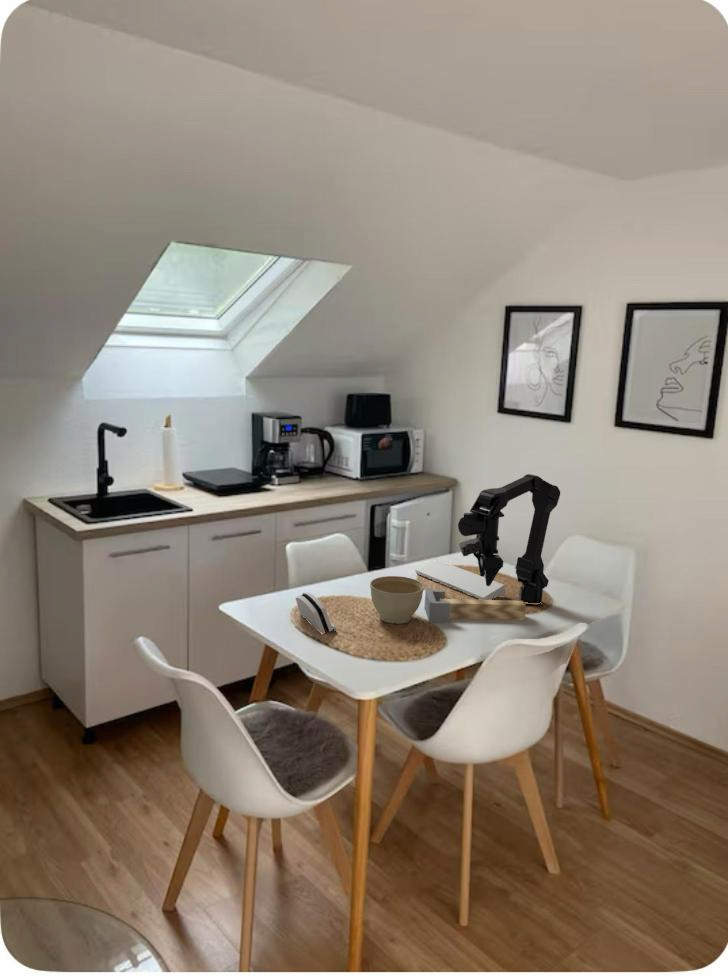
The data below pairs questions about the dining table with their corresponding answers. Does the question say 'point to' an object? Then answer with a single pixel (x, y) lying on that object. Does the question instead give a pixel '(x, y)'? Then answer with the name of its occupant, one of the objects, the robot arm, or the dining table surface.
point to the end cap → (436, 606)
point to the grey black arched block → (314, 612)
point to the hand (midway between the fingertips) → (484, 581)
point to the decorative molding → (461, 579)
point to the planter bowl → (396, 597)
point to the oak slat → (486, 609)
